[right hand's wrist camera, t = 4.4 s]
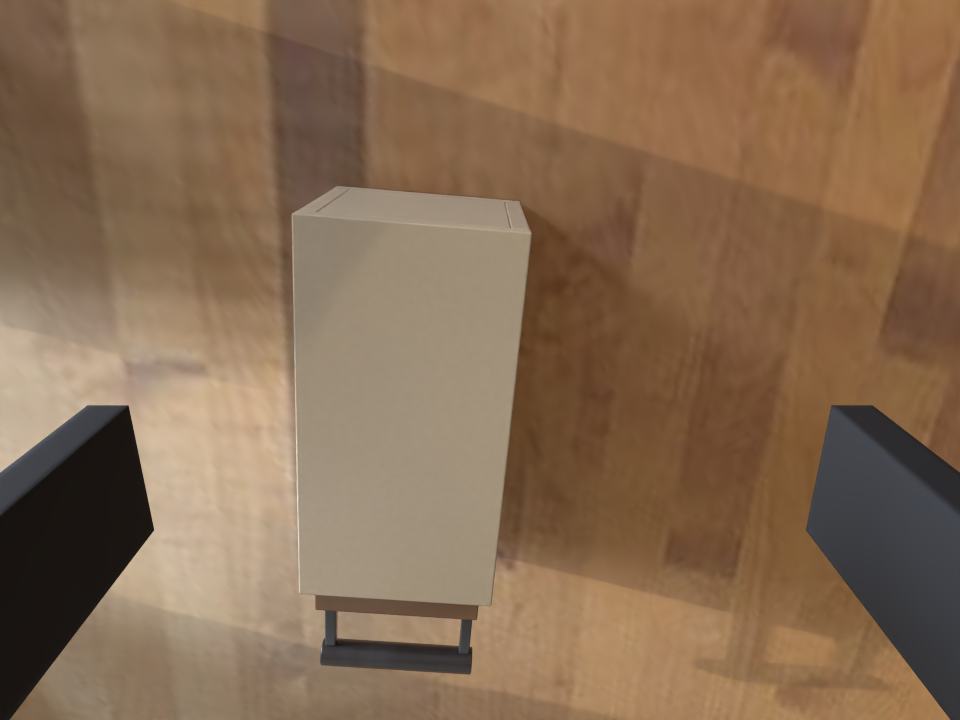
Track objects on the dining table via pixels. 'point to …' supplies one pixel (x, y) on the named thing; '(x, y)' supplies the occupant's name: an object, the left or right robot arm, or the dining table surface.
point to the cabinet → (404, 390)
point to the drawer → (396, 652)
